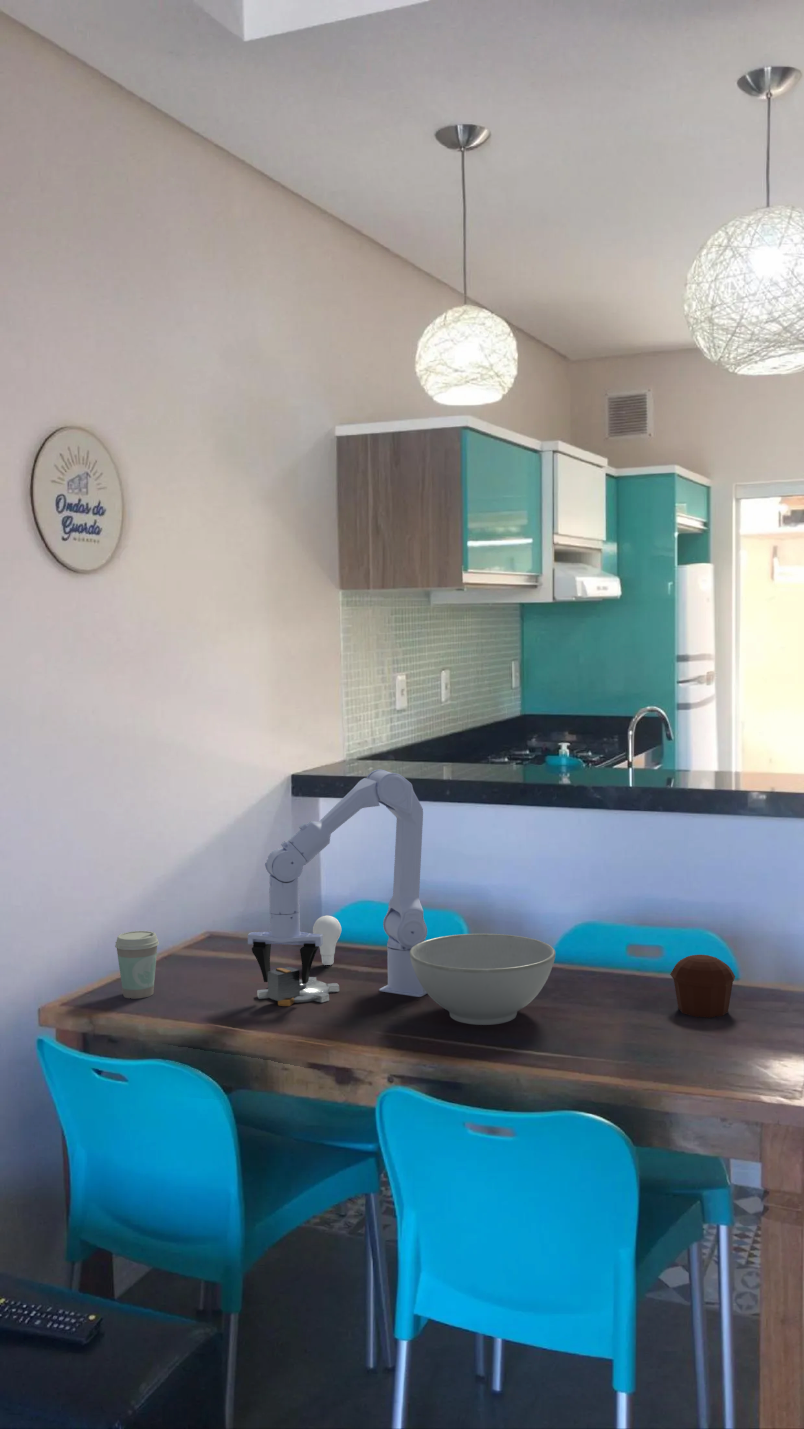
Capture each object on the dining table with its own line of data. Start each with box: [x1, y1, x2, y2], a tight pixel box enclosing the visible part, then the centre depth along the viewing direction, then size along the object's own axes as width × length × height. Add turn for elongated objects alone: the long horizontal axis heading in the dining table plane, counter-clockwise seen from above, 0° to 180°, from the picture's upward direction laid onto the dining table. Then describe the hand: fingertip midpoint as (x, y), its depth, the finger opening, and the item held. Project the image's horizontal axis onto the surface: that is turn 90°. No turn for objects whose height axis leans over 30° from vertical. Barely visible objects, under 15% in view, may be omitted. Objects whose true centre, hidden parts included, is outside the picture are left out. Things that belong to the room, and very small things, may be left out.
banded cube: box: [267, 966, 300, 1002], centre depth 228 cm, size 3×5×5 cm
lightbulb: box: [312, 915, 342, 966], centre depth 256 cm, size 6×6×11 cm
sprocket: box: [256, 969, 340, 1007], centre depth 234 cm, size 16×16×5 cm
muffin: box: [670, 954, 736, 1019], centre depth 220 cm, size 12×11×10 cm
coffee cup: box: [114, 930, 160, 1000], centre depth 236 cm, size 8×8×12 cm
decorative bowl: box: [410, 933, 556, 1026], centre depth 219 cm, size 27×27×12 cm
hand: (286, 981), depth 229 cm, fingers open, 7 cm apart
